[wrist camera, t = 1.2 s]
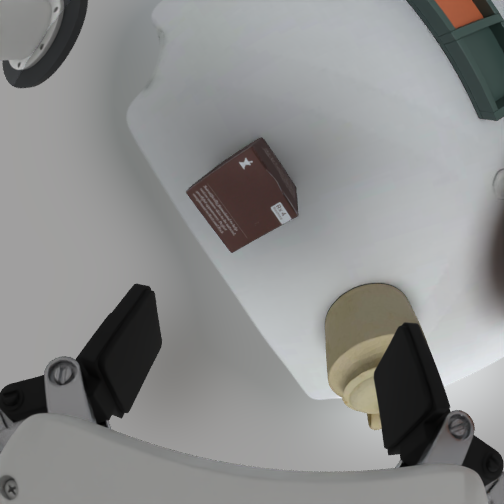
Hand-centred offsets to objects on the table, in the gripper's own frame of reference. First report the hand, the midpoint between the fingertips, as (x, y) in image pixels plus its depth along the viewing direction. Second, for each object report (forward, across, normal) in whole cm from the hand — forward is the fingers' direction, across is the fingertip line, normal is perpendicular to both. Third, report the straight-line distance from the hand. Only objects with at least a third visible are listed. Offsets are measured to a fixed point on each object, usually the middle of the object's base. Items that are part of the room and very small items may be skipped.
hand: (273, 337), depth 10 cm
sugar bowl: (+19, -13, +15) cm, 27 cm away
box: (+19, +3, -1) cm, 19 cm away
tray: (+18, -16, -22) cm, 33 cm away
